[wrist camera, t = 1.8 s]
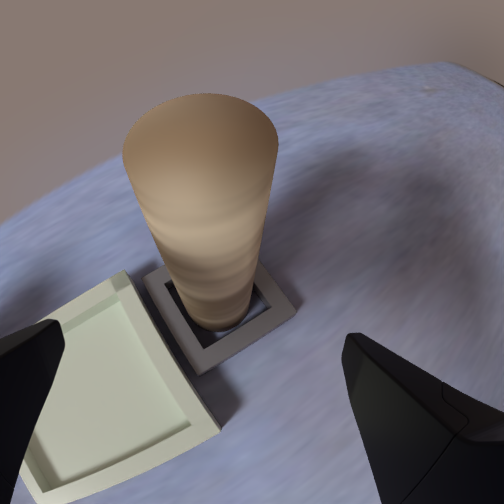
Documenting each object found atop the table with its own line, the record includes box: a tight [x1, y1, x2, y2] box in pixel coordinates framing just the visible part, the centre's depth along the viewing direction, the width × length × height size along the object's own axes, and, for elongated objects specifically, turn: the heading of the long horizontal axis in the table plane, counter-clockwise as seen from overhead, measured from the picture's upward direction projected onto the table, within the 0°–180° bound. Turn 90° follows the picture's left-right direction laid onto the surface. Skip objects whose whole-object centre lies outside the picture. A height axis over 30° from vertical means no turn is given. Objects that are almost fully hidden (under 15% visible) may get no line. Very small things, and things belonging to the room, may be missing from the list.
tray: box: [19, 270, 222, 504], centre depth 17 cm, size 12×15×2 cm
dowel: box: [123, 93, 278, 332], centre depth 15 cm, size 4×4×15 cm
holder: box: [141, 259, 297, 377], centre depth 21 cm, size 8×8×1 cm
